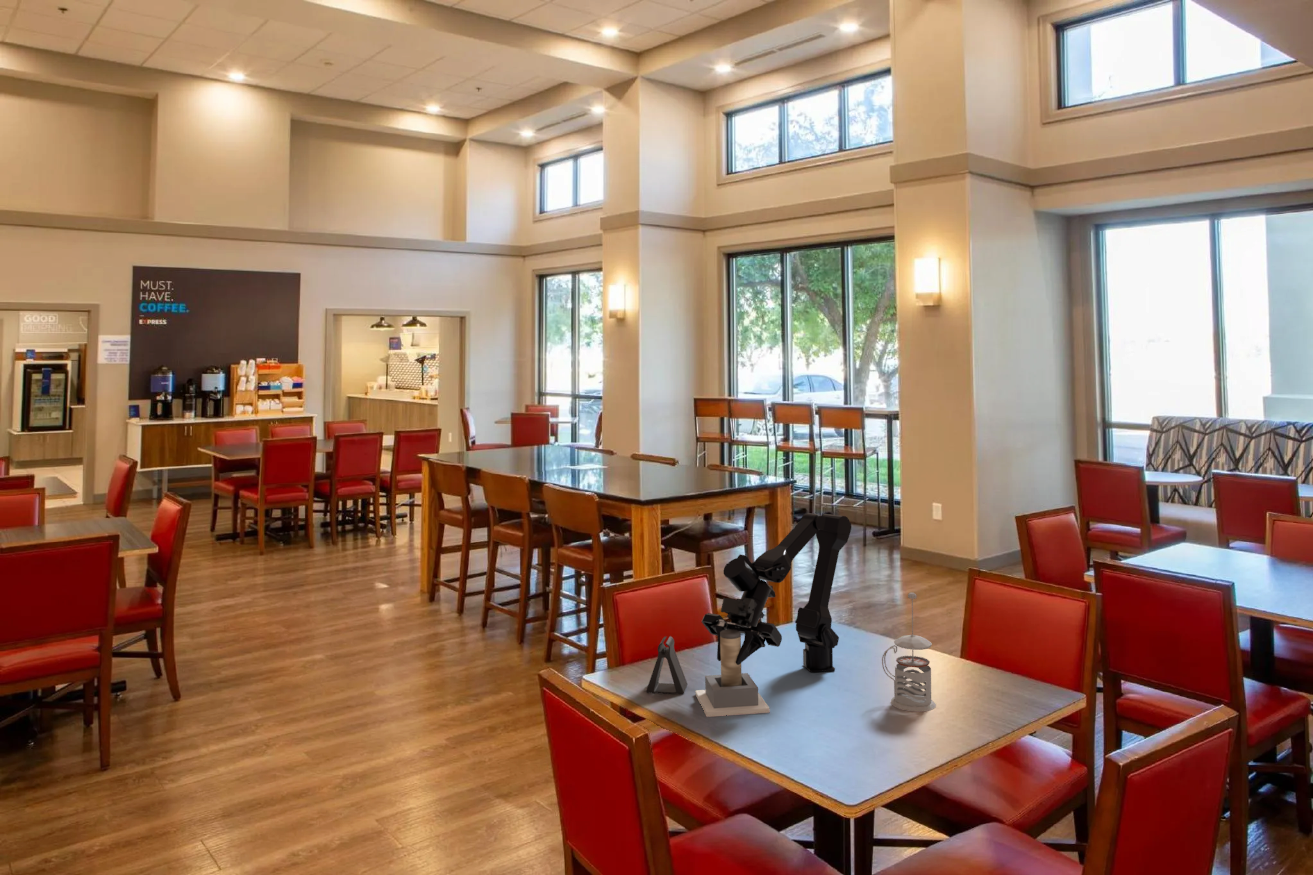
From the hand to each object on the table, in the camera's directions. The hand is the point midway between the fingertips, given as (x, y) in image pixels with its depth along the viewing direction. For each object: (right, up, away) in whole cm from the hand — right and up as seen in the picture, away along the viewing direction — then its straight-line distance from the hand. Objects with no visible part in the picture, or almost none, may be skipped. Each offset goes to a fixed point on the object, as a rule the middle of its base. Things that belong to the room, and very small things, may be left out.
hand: (727, 661), depth 190 cm
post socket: (+1, -10, +2) cm, 10 cm away
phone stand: (-13, -10, +12) cm, 20 cm away
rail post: (+1, -7, +1) cm, 7 cm away
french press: (+41, -9, -1) cm, 42 cm away
